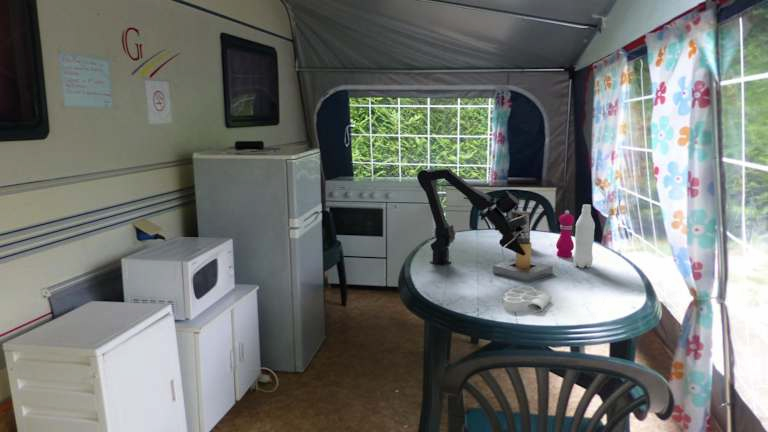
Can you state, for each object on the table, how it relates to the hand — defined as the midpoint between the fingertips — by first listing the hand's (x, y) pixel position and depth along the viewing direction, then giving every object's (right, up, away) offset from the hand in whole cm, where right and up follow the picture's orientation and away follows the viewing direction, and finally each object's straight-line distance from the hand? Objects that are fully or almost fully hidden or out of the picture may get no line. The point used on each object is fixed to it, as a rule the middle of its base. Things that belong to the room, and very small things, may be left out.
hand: (527, 252), depth 201 cm
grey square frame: (-1, -8, +2) cm, 9 cm away
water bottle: (+25, -7, +11) cm, 28 cm away
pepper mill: (+23, -4, +26) cm, 35 cm away
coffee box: (+8, 0, +45) cm, 45 cm away
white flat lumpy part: (-9, -15, -29) cm, 34 cm away
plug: (-1, -8, +2) cm, 9 cm away
